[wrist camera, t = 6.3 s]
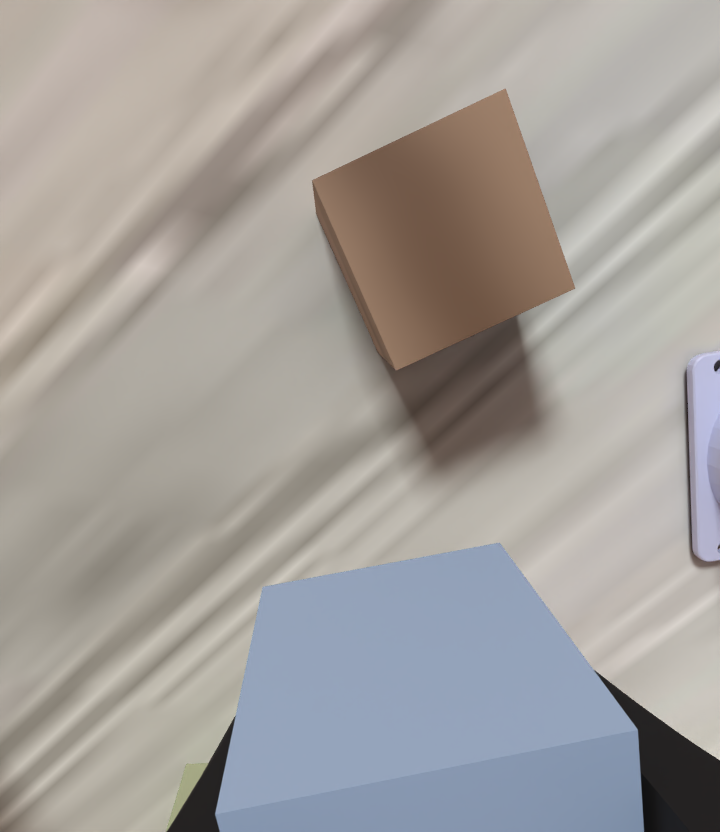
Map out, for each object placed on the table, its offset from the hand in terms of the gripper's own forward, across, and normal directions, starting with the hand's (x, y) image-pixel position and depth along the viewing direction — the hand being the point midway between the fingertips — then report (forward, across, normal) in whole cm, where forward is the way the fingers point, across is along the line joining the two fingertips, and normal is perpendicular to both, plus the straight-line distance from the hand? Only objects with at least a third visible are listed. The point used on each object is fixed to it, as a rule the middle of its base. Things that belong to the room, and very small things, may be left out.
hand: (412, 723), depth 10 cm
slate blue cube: (+2, 0, 0) cm, 2 cm away
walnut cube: (+10, -3, -9) cm, 14 cm away
